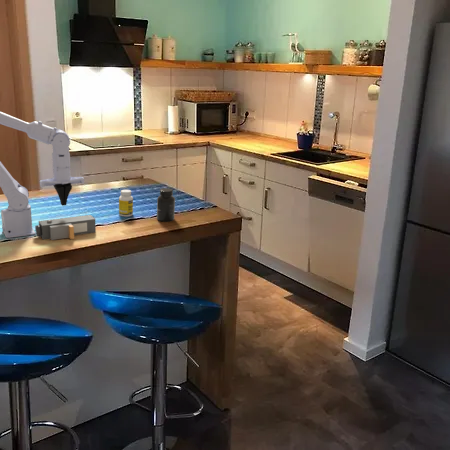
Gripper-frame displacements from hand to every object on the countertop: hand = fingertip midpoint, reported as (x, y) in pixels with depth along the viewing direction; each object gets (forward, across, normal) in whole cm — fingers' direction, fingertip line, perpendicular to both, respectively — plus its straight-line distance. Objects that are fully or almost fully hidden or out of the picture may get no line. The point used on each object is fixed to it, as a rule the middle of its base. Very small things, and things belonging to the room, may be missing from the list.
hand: (63, 204), depth 174 cm
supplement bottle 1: (+10, +26, +8) cm, 29 cm away
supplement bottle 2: (+10, +38, -3) cm, 39 cm away
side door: (+9, -3, -9) cm, 13 cm away
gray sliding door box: (+9, 0, -4) cm, 10 cm away
